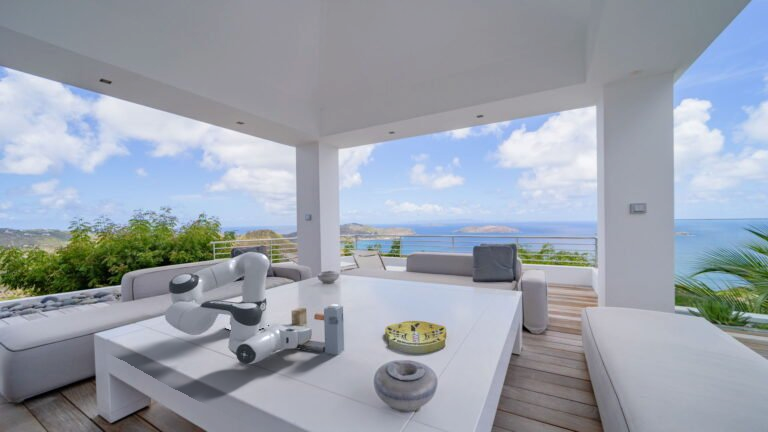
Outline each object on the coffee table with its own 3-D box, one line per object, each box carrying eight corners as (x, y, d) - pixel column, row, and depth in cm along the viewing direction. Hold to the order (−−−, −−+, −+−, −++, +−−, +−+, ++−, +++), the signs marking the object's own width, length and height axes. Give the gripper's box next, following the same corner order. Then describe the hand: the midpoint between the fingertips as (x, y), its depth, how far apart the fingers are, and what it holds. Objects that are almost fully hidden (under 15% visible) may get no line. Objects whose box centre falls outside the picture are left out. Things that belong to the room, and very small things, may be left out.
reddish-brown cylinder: (314, 320, 123) (314, 314, 123) (317, 318, 125) (317, 312, 125) (325, 321, 121) (325, 315, 121) (328, 319, 123) (328, 313, 123)
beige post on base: (287, 343, 125) (286, 311, 125) (298, 337, 131) (297, 306, 132) (301, 345, 122) (300, 312, 122) (311, 338, 129) (310, 307, 129)
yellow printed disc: (380, 345, 118) (387, 320, 148) (381, 353, 118) (387, 327, 148) (451, 346, 115) (443, 321, 145) (451, 354, 115) (443, 327, 145)
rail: (276, 345, 128) (275, 336, 128) (283, 341, 133) (283, 332, 133) (322, 352, 119) (322, 342, 119) (329, 347, 124) (329, 338, 124)
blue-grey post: (325, 353, 119) (323, 306, 119) (331, 348, 124) (330, 303, 124) (337, 355, 117) (336, 307, 117) (344, 349, 121) (342, 304, 122)
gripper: (256, 342, 118) (280, 330, 131) (298, 349, 110) (319, 335, 123) (256, 326, 118) (280, 316, 131) (298, 332, 111) (319, 320, 123)
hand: (299, 325), depth 127 cm, fingers closed on beige post on base, 4 cm apart
